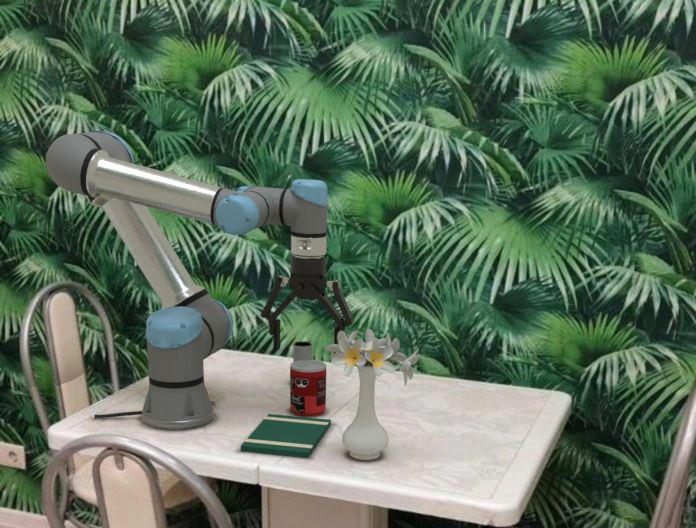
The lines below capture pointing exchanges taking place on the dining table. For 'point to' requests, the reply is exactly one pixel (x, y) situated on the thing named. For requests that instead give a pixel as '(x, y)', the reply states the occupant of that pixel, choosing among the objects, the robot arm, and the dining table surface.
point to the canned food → (307, 388)
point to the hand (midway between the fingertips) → (306, 352)
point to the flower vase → (368, 387)
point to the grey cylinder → (302, 351)
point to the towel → (286, 435)
